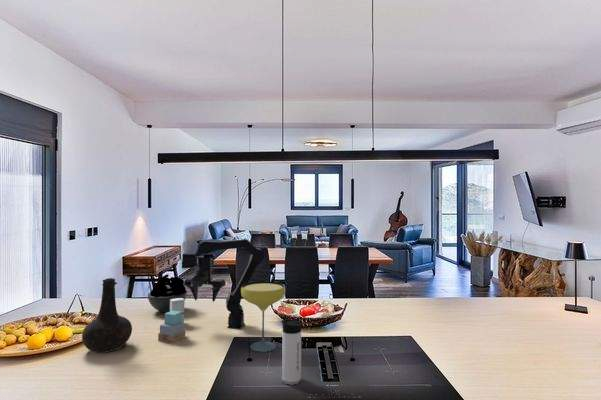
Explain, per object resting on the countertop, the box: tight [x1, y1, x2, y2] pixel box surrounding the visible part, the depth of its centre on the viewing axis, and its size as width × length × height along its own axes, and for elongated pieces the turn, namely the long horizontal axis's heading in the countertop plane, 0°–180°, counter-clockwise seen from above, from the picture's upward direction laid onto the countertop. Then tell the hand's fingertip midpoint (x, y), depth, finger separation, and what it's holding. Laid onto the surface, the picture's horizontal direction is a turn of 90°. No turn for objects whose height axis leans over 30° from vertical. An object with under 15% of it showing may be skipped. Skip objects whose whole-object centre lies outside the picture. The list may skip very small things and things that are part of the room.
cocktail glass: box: [241, 281, 286, 353], centre depth 150 cm, size 18×18×25 cm
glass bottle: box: [81, 277, 133, 353], centre depth 148 cm, size 18×18×28 cm
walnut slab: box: [157, 328, 186, 343], centre depth 159 cm, size 8×8×4 cm
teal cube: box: [164, 310, 182, 325], centre depth 159 cm, size 5×5×4 cm
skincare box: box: [170, 298, 186, 323], centre depth 177 cm, size 6×4×12 cm
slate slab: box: [159, 321, 185, 336], centre depth 159 cm, size 7×7×4 cm
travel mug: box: [281, 319, 302, 386], centre depth 122 cm, size 6×7×20 cm
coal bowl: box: [147, 273, 188, 313], centre depth 198 cm, size 20×20×19 cm
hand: (204, 300), depth 171 cm, fingers open, 9 cm apart
